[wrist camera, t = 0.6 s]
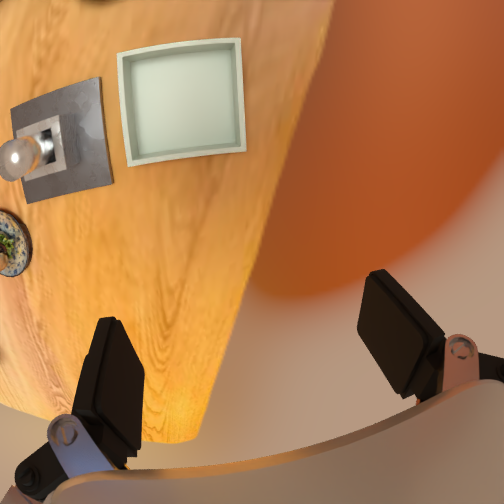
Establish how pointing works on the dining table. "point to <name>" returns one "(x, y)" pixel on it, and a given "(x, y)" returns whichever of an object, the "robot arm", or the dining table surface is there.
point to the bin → (182, 100)
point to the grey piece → (40, 149)
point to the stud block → (87, 132)
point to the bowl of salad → (14, 246)
